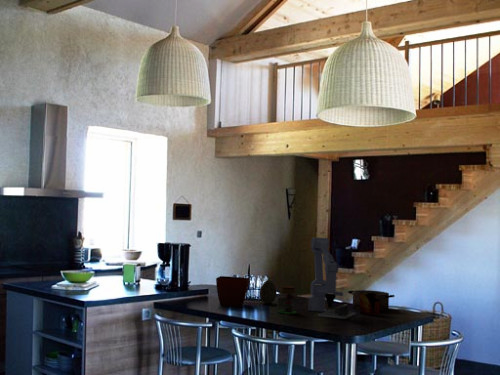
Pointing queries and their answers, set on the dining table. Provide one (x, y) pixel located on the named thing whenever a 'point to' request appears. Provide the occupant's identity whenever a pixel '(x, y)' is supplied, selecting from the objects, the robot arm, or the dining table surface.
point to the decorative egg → (268, 292)
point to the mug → (368, 304)
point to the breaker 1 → (342, 309)
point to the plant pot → (232, 290)
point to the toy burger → (286, 300)
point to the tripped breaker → (338, 310)
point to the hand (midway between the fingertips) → (329, 307)
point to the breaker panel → (332, 314)
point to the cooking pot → (380, 295)
